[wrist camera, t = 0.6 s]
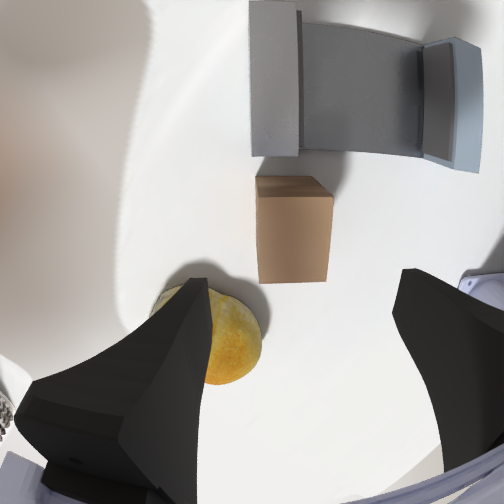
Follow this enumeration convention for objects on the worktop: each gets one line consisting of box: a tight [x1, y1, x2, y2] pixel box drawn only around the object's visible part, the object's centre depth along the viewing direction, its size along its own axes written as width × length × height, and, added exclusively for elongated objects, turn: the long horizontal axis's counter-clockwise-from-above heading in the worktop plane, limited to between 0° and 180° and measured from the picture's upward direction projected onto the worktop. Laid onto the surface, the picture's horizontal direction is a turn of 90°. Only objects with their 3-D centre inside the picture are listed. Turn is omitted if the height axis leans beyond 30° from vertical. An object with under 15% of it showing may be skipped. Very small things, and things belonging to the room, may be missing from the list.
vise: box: [248, 0, 424, 158], centre depth 14 cm, size 14×8×4 cm, turn 91°
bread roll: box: [149, 285, 262, 385], centre depth 21 cm, size 8×9×4 cm
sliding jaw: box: [422, 37, 483, 174], centre depth 13 cm, size 2×8×4 cm, turn 1°
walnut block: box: [255, 176, 334, 284], centre depth 17 cm, size 4×4×5 cm
